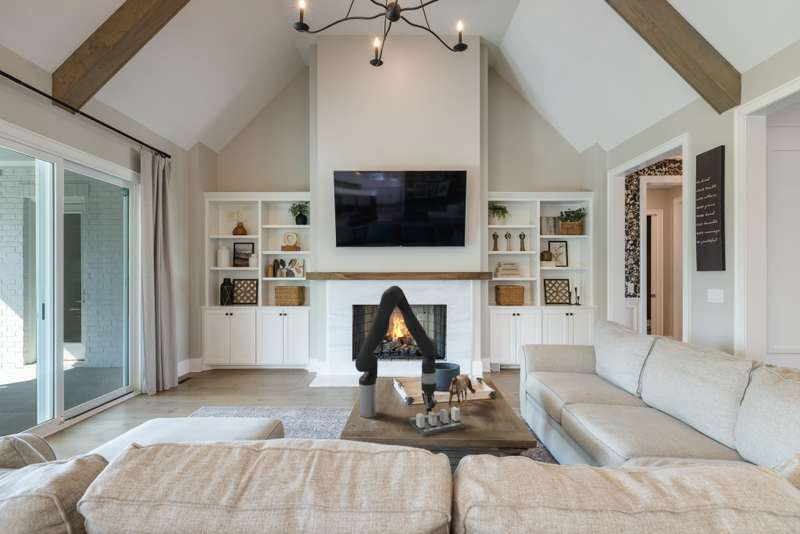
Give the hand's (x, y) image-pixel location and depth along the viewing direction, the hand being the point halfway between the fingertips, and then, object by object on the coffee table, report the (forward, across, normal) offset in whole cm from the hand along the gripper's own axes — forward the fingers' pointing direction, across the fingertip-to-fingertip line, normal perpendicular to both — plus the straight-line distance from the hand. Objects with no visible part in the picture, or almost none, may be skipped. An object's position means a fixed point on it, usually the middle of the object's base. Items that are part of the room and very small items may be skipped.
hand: (429, 414), depth 204 cm
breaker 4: (+3, +4, +13) cm, 14 cm away
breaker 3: (+3, +4, +6) cm, 8 cm away
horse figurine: (+6, -12, +28) cm, 31 cm away
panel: (+5, +1, +3) cm, 6 cm away
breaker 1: (+3, +4, -7) cm, 8 cm away
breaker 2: (+3, +4, 0) cm, 5 cm away
